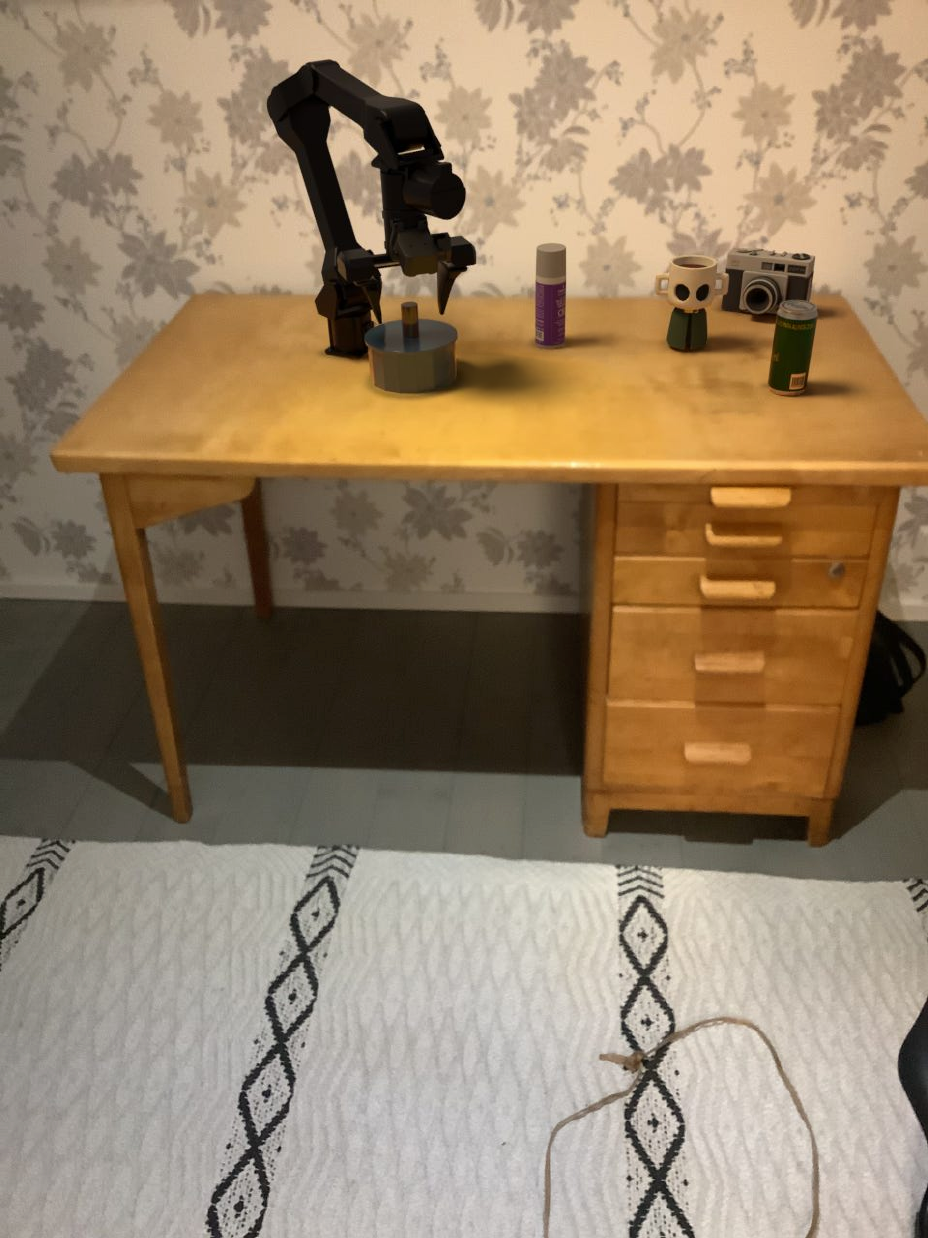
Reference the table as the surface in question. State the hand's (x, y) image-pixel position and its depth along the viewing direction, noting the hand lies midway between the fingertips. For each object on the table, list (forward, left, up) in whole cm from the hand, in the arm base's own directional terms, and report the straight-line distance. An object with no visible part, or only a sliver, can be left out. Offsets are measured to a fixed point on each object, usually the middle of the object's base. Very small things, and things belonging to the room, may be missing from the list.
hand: (410, 318), depth 156 cm
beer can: (+51, +17, -10) cm, 55 cm away
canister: (0, 0, -9) cm, 9 cm away
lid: (0, 0, -3) cm, 3 cm away
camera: (+40, +46, -10) cm, 62 cm away
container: (+13, +21, -10) cm, 26 cm away
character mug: (+33, +28, -10) cm, 44 cm away
